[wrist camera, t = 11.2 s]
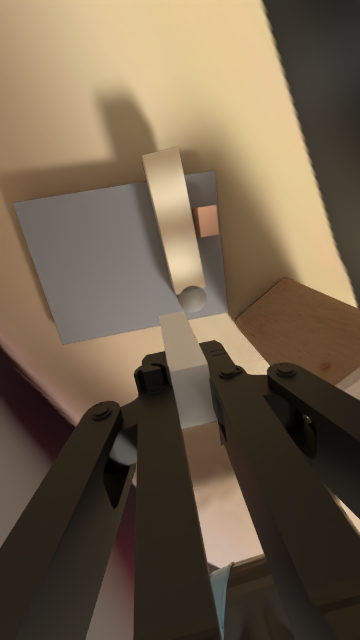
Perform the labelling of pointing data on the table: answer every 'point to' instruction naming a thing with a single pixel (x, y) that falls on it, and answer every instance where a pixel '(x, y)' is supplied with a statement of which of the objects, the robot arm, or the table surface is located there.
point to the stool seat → (117, 257)
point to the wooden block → (306, 333)
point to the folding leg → (176, 226)
